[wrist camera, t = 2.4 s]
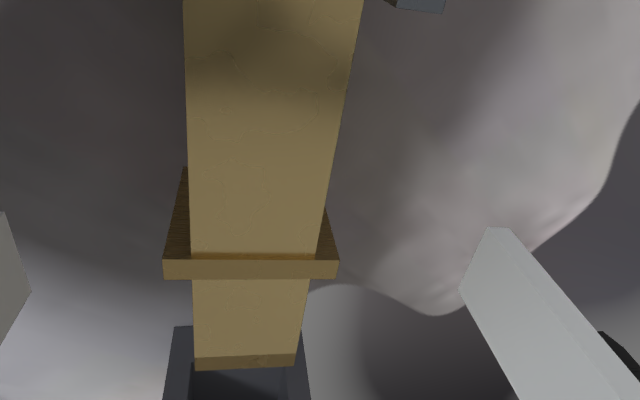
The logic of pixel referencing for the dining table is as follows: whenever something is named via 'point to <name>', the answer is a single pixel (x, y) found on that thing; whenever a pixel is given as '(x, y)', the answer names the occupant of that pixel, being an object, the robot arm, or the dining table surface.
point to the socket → (231, 377)
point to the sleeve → (420, 5)
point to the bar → (258, 170)
